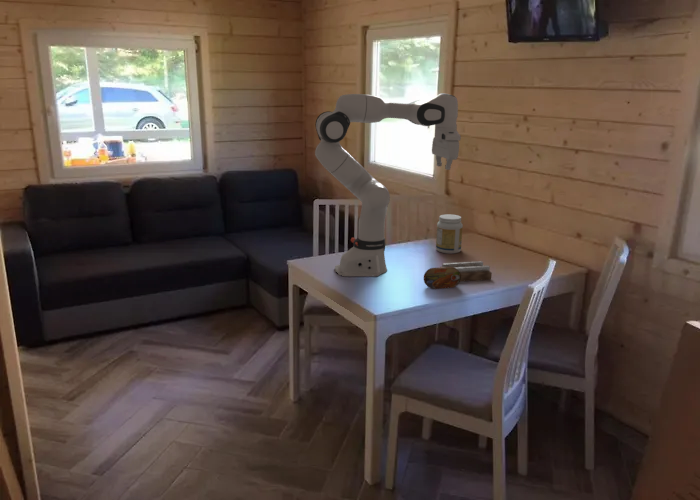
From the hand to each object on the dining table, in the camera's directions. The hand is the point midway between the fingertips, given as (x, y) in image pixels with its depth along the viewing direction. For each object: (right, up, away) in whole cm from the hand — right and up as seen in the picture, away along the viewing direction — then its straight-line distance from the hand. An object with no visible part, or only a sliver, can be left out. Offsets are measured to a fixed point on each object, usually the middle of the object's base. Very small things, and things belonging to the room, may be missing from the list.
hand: (443, 167), depth 251 cm
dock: (+10, -45, +2) cm, 46 cm away
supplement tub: (+9, -35, +39) cm, 53 cm away
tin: (-3, -50, -12) cm, 51 cm away
